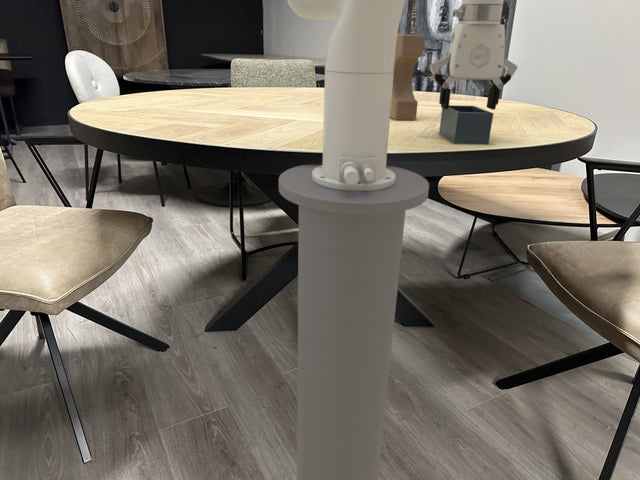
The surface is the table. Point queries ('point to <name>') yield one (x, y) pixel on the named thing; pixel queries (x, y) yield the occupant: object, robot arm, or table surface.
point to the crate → (466, 124)
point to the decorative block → (405, 76)
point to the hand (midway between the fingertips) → (467, 108)
